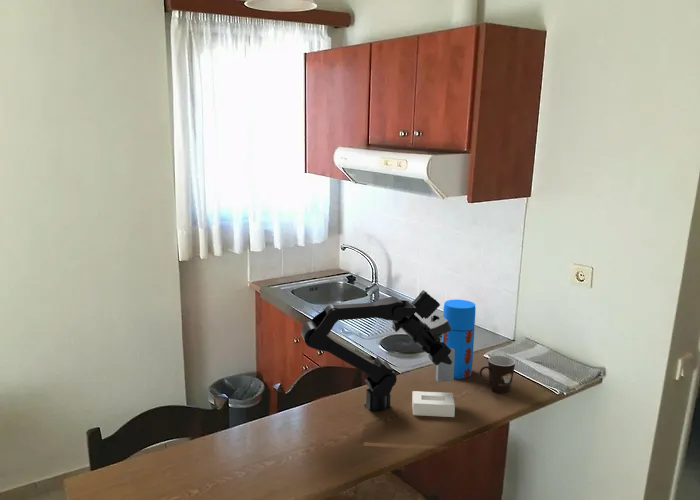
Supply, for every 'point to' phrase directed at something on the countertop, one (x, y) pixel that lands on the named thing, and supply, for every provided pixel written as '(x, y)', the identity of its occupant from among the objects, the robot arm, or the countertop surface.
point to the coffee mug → (500, 373)
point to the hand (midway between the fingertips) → (449, 361)
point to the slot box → (433, 404)
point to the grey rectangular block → (446, 369)
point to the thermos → (460, 334)
